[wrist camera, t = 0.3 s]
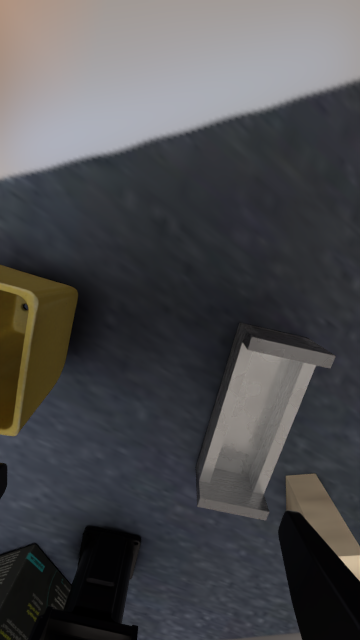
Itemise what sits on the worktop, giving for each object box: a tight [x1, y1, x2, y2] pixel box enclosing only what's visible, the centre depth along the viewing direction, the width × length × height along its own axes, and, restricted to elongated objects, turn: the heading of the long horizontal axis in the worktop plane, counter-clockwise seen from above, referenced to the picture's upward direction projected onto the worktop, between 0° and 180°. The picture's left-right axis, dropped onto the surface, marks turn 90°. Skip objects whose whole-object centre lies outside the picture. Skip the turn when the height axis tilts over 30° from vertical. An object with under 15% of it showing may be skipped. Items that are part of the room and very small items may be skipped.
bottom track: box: [196, 322, 335, 520], centre depth 21 cm, size 16×6×4 cm, turn 167°
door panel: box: [286, 474, 360, 581], centre depth 22 cm, size 8×3×7 cm, turn 7°
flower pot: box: [0, 265, 78, 436], centre depth 17 cm, size 9×9×9 cm
